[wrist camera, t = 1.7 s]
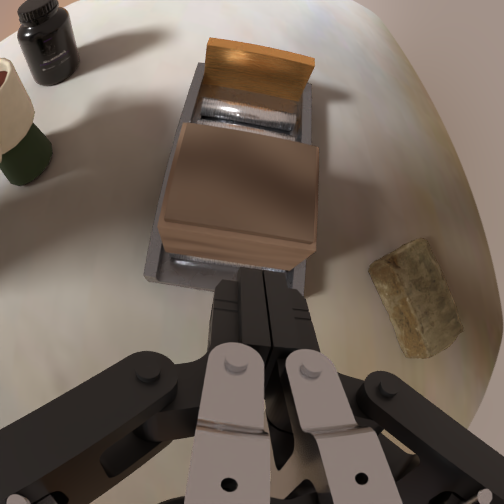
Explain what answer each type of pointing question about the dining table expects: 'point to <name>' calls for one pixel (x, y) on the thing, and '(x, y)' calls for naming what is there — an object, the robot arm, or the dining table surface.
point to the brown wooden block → (241, 198)
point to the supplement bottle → (47, 41)
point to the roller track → (191, 115)
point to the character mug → (19, 131)
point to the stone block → (417, 299)
